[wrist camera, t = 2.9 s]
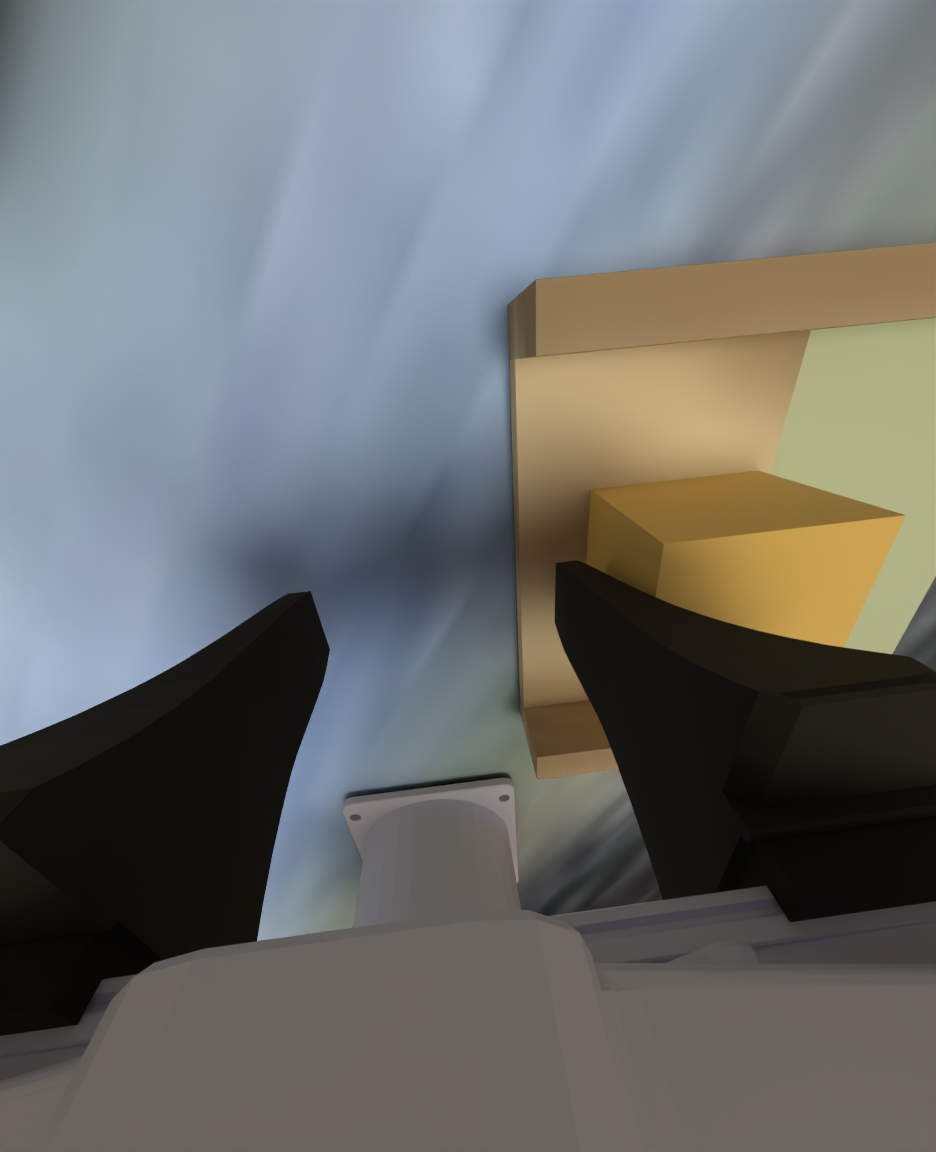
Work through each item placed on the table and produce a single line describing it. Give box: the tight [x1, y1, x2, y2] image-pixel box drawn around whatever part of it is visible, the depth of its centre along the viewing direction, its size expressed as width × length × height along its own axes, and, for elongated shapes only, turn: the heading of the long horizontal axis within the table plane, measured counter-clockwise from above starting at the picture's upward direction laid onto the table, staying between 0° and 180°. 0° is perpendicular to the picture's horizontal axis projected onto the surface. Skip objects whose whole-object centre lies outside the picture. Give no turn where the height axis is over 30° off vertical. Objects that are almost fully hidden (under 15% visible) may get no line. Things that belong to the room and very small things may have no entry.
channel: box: [508, 243, 936, 779], centre depth 12 cm, size 14×15×3 cm
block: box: [586, 471, 906, 647], centre depth 11 cm, size 5×5×4 cm
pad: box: [770, 318, 936, 654], centre depth 13 cm, size 12×8×1 cm, turn 5°
